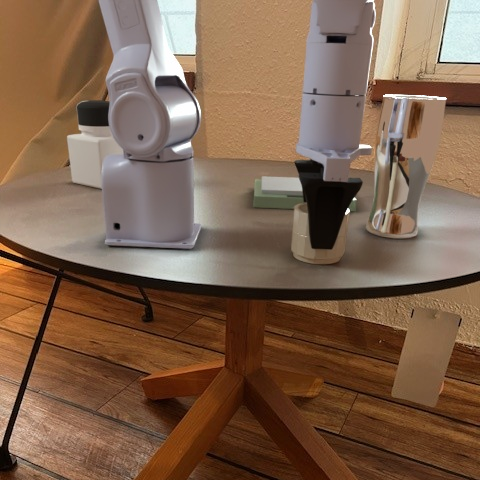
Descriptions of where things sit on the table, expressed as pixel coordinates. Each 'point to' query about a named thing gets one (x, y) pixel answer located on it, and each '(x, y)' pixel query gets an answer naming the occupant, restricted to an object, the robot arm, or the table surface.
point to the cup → (302, 240)
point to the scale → (281, 193)
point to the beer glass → (403, 161)
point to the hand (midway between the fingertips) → (318, 238)
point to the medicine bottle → (91, 143)
